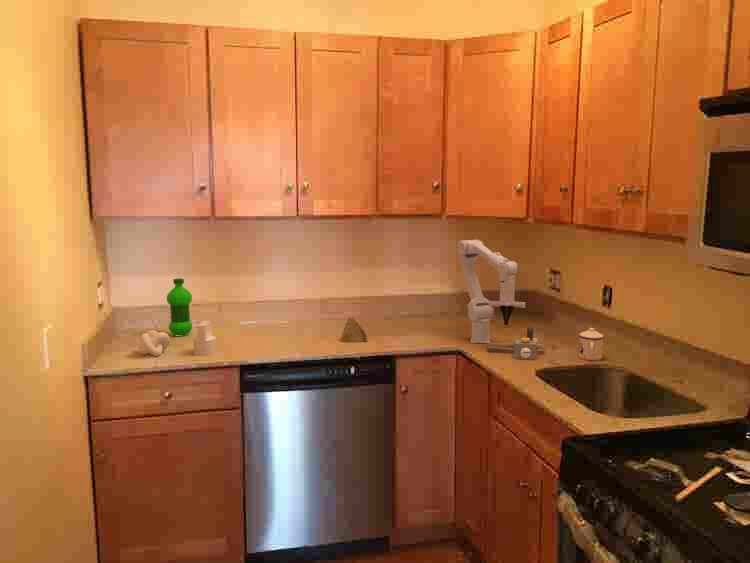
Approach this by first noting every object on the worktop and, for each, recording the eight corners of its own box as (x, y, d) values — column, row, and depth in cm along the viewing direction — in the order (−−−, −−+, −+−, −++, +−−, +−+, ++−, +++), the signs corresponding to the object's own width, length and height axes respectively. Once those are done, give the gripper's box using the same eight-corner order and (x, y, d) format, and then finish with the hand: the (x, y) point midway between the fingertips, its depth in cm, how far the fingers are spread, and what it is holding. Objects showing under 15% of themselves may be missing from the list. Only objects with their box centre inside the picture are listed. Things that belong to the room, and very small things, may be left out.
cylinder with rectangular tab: (213, 355, 245) (212, 325, 243) (190, 355, 245) (189, 325, 243) (219, 349, 254) (218, 320, 252) (197, 349, 254) (196, 320, 252)
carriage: (521, 344, 256) (522, 325, 255) (536, 345, 255) (537, 326, 254) (522, 348, 250) (523, 329, 249) (537, 348, 249) (538, 329, 248)
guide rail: (489, 345, 256) (489, 342, 256) (541, 347, 253) (542, 344, 253) (489, 346, 255) (489, 343, 254) (542, 348, 251) (542, 345, 251)
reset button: (520, 343, 246) (520, 337, 245) (529, 343, 245) (529, 337, 245) (520, 345, 242) (521, 339, 242) (530, 346, 241) (530, 339, 241)
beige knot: (129, 355, 245) (128, 333, 244) (153, 348, 255) (152, 327, 254) (150, 359, 240) (149, 336, 238) (174, 352, 250) (173, 330, 249)
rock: (373, 334, 271) (354, 328, 276) (368, 321, 265) (349, 315, 270) (360, 353, 265) (341, 346, 270) (355, 340, 259) (336, 334, 264)
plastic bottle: (168, 333, 281) (165, 278, 277) (193, 331, 285) (190, 277, 281) (168, 338, 272) (165, 281, 268) (193, 336, 275) (191, 280, 271)
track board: (487, 346, 260) (487, 342, 260) (542, 348, 257) (542, 345, 256) (487, 352, 251) (488, 348, 251) (544, 354, 248) (544, 350, 248)
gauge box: (513, 354, 248) (514, 339, 247) (534, 355, 247) (535, 340, 246) (514, 359, 241) (515, 344, 240) (536, 360, 240) (536, 344, 239)
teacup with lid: (577, 353, 250) (579, 324, 248) (602, 355, 247) (603, 326, 245) (578, 361, 238) (579, 331, 237) (603, 363, 236) (605, 333, 234)
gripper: (489, 292, 249) (488, 325, 251) (526, 293, 247) (525, 327, 249) (488, 289, 256) (487, 322, 258) (525, 290, 254) (523, 323, 256)
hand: (506, 324), depth 254 cm, fingers closed
